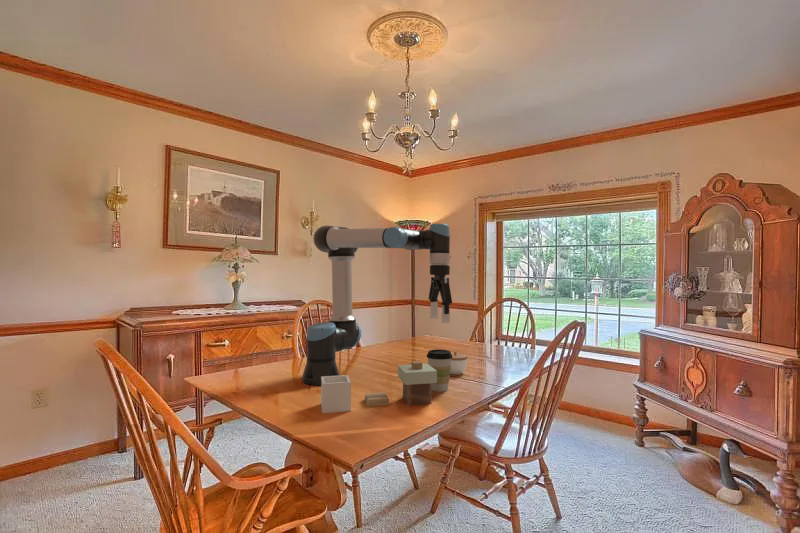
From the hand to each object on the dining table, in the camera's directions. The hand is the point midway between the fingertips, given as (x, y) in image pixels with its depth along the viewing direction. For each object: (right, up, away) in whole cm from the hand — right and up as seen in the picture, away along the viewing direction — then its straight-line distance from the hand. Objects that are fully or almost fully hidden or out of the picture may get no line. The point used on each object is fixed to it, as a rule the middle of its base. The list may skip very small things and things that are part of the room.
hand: (439, 320), depth 156 cm
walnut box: (-9, -27, -14) cm, 31 cm away
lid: (-9, -19, -14) cm, 25 cm away
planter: (-36, -27, -21) cm, 50 cm away
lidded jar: (+10, -27, +28) cm, 40 cm away
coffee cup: (0, -27, 0) cm, 27 cm away
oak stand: (-23, -27, -16) cm, 39 cm away
